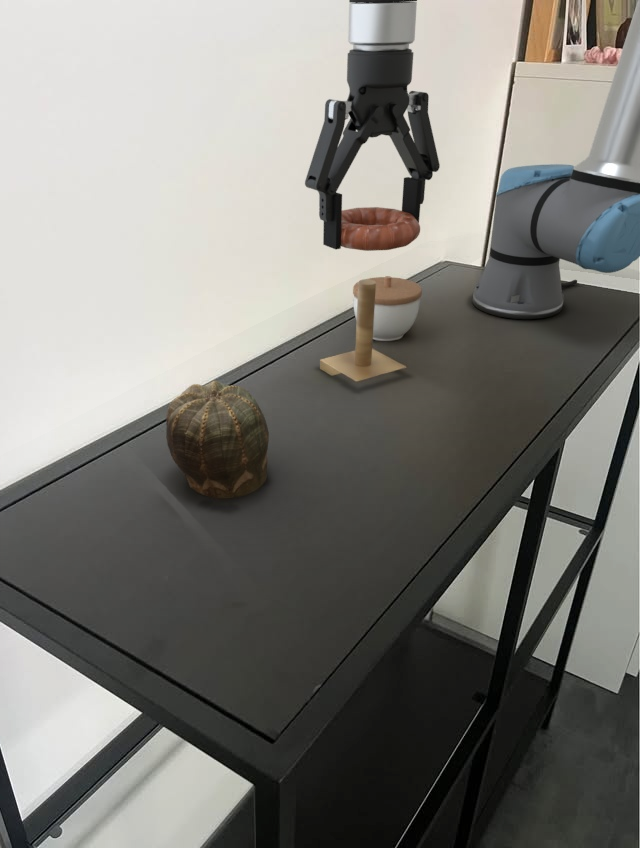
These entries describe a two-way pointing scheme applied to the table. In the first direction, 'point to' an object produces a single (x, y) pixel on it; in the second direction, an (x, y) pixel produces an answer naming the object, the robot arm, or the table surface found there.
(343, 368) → the stand
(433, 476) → the table surface
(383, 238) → the ring
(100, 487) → the table surface
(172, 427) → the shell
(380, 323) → the trinket box
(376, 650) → the table surface
